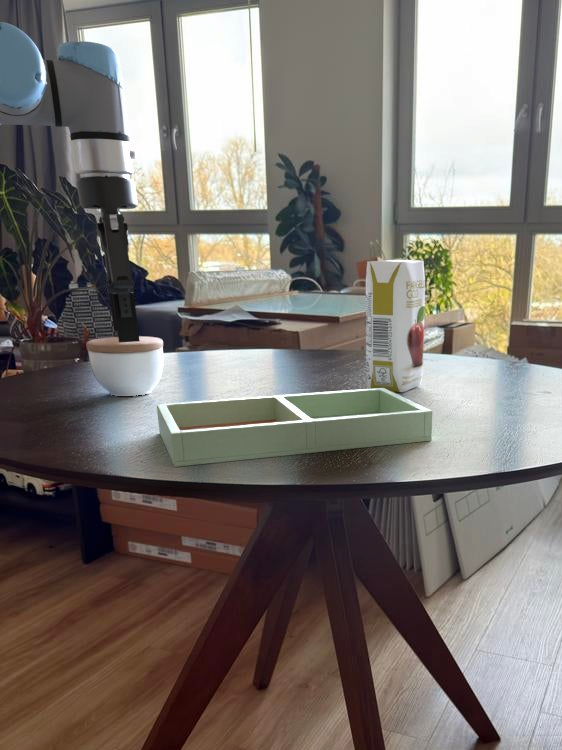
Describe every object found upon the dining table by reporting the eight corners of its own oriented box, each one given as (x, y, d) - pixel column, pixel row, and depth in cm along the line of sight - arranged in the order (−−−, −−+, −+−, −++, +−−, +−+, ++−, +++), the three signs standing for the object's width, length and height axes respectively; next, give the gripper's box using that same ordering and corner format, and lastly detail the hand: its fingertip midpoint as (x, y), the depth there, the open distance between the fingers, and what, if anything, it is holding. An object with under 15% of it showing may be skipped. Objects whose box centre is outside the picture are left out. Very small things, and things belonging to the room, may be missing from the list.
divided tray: (174, 467, 74) (171, 433, 72) (159, 432, 87) (156, 404, 85) (431, 440, 84) (432, 411, 82) (383, 413, 97) (383, 387, 96)
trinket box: (182, 389, 112) (176, 327, 109) (138, 402, 103) (130, 335, 99) (125, 384, 115) (117, 324, 112) (77, 397, 106) (67, 331, 103)
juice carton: (360, 390, 112) (359, 260, 105) (385, 381, 119) (385, 259, 112) (404, 394, 109) (406, 261, 102) (427, 385, 116) (430, 260, 109)
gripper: (141, 170, 89) (161, 345, 97) (128, 184, 111) (145, 325, 118) (76, 168, 86) (101, 348, 94) (75, 183, 108) (96, 328, 116)
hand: (126, 336), depth 106 cm, fingers open, 13 cm apart
